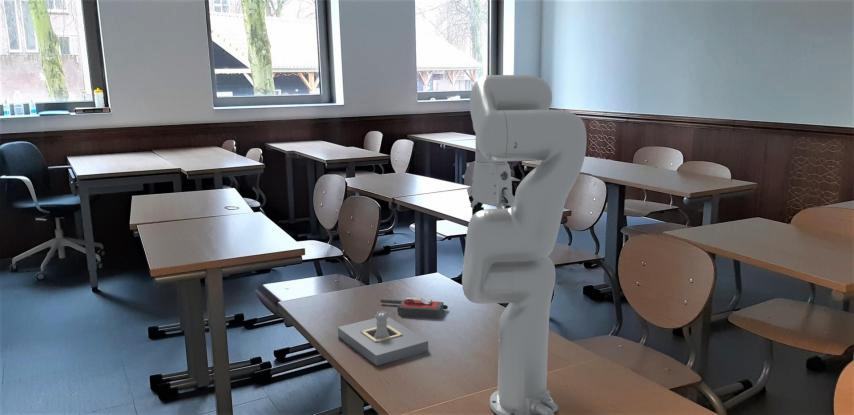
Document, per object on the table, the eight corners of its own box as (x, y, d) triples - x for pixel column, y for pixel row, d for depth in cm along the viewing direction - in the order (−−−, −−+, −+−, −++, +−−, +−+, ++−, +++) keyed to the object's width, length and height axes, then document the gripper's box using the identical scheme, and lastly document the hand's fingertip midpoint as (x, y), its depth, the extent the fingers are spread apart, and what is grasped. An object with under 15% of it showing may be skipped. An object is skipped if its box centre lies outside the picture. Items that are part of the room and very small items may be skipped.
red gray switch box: (449, 308, 180) (381, 303, 184) (449, 293, 179) (381, 289, 183) (443, 320, 172) (372, 315, 176) (443, 304, 171) (372, 299, 175)
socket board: (428, 350, 152) (427, 339, 151) (376, 365, 144) (376, 354, 144) (386, 324, 168) (385, 314, 168) (338, 336, 161) (337, 326, 160)
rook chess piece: (388, 348, 154) (387, 316, 152) (370, 346, 155) (369, 315, 153) (393, 340, 158) (392, 310, 156) (375, 339, 159) (375, 308, 157)
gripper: (528, 159, 145) (526, 232, 148) (481, 152, 159) (480, 219, 163) (502, 162, 141) (501, 237, 144) (456, 154, 155) (456, 222, 159)
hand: (490, 227), depth 154 cm, fingers open, 9 cm apart
